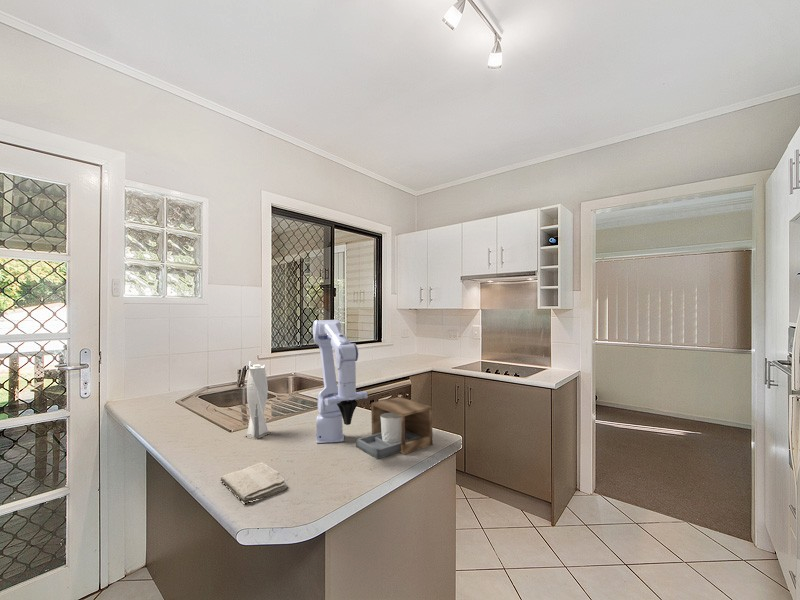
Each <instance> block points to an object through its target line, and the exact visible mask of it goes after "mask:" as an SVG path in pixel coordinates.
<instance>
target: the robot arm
mask: <svg viewBox="0 0 800 600" xmlns="http://www.w3.org/2000/svg"><path fill="white" fill-rule="evenodd" d="M341 324H342V323H341V321H340V320H339V319H324V320H323V319H321V320H319V319H316V320H315V319H314V321H313V322H312V337H313V338H312V339H313V342H314V344H316V345H317V346H318V348H319V352H320V353H319V354H320V362H321V370H322V372H321V373H322V381H323V387H324V388H323V389H321V390H320V391H319V392H318V394H317V411H318V415H317V416H316V425H315V426H316V431H315V436H316V440H315V441H316V442H315V443H317V444H322V443H325V444H326V443H338V442H341V443H342V442H344V440H345V439H344V438H345V433H344V432H343V430H344V429H343V424H344V425H347V426H350V425H351V424H352V419H353V415H354V412H355V410H356V409H357V406H358V400H361V399H369V398H368V397H369V396H368V392H367V391H364V390H363V391H357V385H356V383H357V382H356V377H357V375H356V374H357V372H356V371H357V369H356V364H357V363H356V362H357V361H358V359H359V349H358V346H357V344H356V343H352V342H350V341H349V338H348V337H347V336H346V334H344V333H343V332H342V325H341ZM341 332H342V333H341ZM333 350H334V352H333ZM334 357H335V360H334ZM335 362H336V363H335ZM335 364H336V365H335ZM336 368H337V376H336Z"/></svg>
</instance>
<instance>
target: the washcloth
mask: <svg viewBox="0 0 800 600" xmlns="http://www.w3.org/2000/svg"><path fill="white" fill-rule="evenodd" d="M220 481H222V482H223V483H224V484H225V485H226V486H227V487H228V488H229V489H230V490H231V491H232V492H233V493H234V494H235V495H236V496H238V497H239V498H240V499H241V501H243V502H244V503H247V504H249V503H248V502H249V501H253V500H256V499H260V498H263V499H265V498H267V497H266V496H268V497H270V496H273V495H276V494H278V493H281V492H283V491H284V490H287V486H286V483H285V478H284V477H282V475H281V474H280V472H279V471H278V470H275V469H273V468H272V467H271V466H269V465H267V464H266V463H265V462H258V463H255V464H253V465H250V466H248V467H245V468H244V469H243V468H242V469H241V470H240V469H239V470H236V471H231V472H230V473H226V474H224V475H222V476H221V477H220ZM223 483H222V484H223ZM224 484H223V485H224ZM225 485H224V486H225ZM227 487H226V488H227ZM229 489H228V490H229ZM230 490H229V491H230ZM232 492H231V493H232ZM233 493H232V494H233ZM234 494H233V495H234ZM235 495H234V496H235ZM269 495H270V496H269ZM236 496H235V497H236ZM264 497H265V498H264ZM241 501H240V502H241Z"/></svg>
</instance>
